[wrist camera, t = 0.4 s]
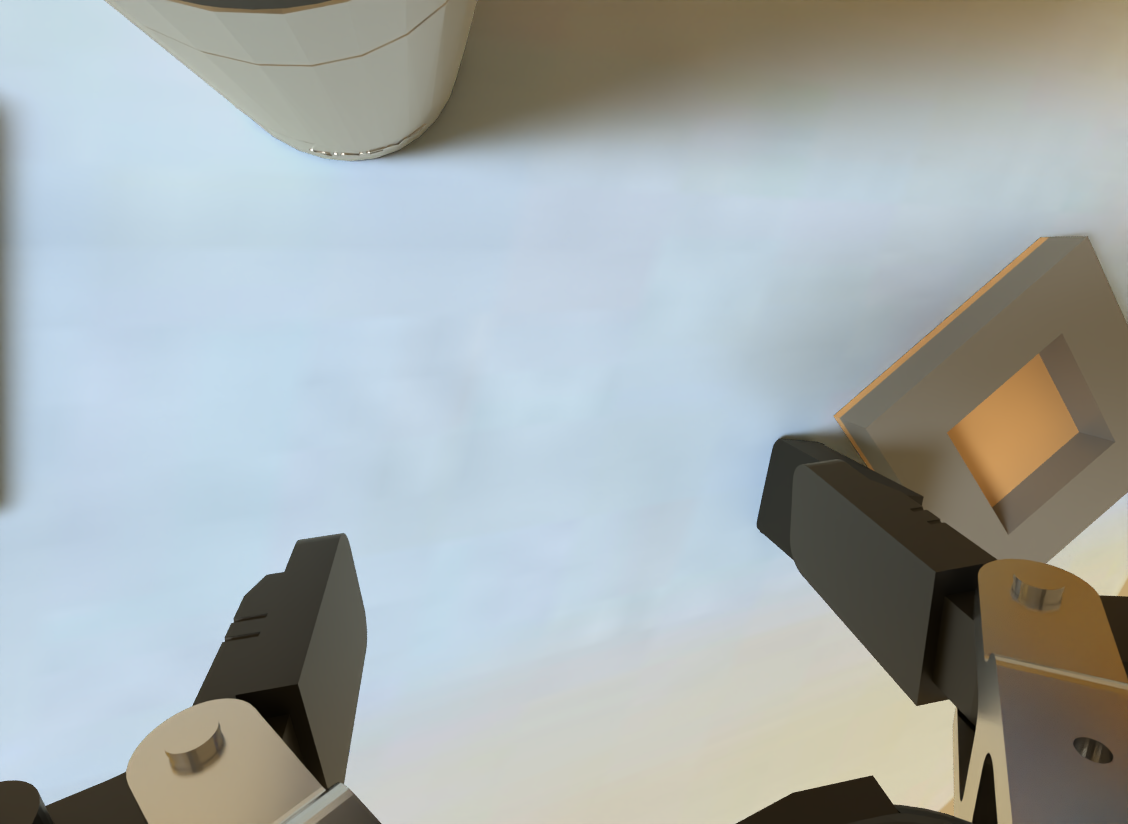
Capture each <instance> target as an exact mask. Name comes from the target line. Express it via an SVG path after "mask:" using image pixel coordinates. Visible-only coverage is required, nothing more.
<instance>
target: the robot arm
mask: <svg viewBox="0 0 1128 824" xmlns="http://www.w3.org/2000/svg"><path fill="white" fill-rule="evenodd" d="M104 1H106V2H107V3H108V4H109V5H111V6H112V7H113V8H114V9H116V10H117V11H118V12H119V13H121V14H122V15H123V16H124V17H125V18H127V19H128V20H129V21H130V22H132V23H133V24H134V25H135V26H137V27H138V28H139V29H140V30H142V31H143V32H144V33H145V34H146V35H148V36H149V37H150V38H151V39H153V40H154V41H155V42H156V43H158V44H159V45H160V46H161V47H163V48H164V49H165V50H166V51H167V52H169V53H170V54H171V55H172V56H174V57H175V58H176V59H177V60H179V61H180V62H181V63H182V64H184V65H185V66H186V67H187V68H188V69H190V70H191V71H192V72H193V73H195V74H196V75H197V76H198V77H200V78H201V79H202V80H203V81H205V82H206V83H207V84H208V85H209V86H211V87H212V88H213V89H214V90H216V91H217V92H218V93H219V94H221V95H222V96H223V97H224V98H226V99H227V100H228V101H229V102H230V103H232V104H233V105H234V106H235V107H236V108H238V109H239V110H240V111H242V112H243V113H244V114H246V115H247V116H248V117H250V118H251V119H252V120H253V121H255V122H256V123H257V124H258V125H259V126H261V127H262V128H263V129H264V130H266V131H267V132H268V133H269V134H271V135H272V136H273V137H275V138H277V139H278V140H280V141H282V142H284V143H286V144H288V145H289V146H291V147H293V148H295V149H297V150H299V151H302V152H305V153H308V154H312V155H315V156H318V157H321V158H324V159H334V160H344V161H356V160H365V159H374V158H378V157H381V156H383V155H386V154H389V153H392V152H395V151H398V150H400V149H401V148H403V147H404V146H406V145H408V144H409V143H411V142H412V141H414V140H415V139H417V138H419V137H420V136H421V135H422V134H423V133H424V132H425V131H426V130H427V129H428V128H429V127H430V126H431V125H432V124H433V122H434V121H435V120H436V119H437V118H438V116H439V115H440V113H441V111H442V110H443V108H444V106H445V105H446V103H447V101H448V100H449V98H450V95H451V92H452V89H453V86H454V83H455V80H456V78H457V75H458V71H459V67H460V63H461V60H462V57H463V53H464V50H465V46H466V42H467V39H468V35H469V31H470V27H471V23H472V19H473V15H474V11H475V7H476V4H477V0H104ZM790 546H791V552H792V556H793V559H794V562H795V564H796V566H797V568H798V570H799V572H800V573H801V574H802V576H803V577H804V578H805V579H806V580H807V581H808V583H809V584H810V585H811V586H812V587H813V588H814V589H815V591H816V592H817V593H818V594H819V595H820V596H821V597H822V599H823V600H824V601H825V602H826V603H827V604H828V605H829V606H830V608H831V609H832V610H833V611H834V612H835V613H836V614H837V616H838V617H839V618H840V619H841V620H842V621H843V622H844V624H845V625H846V626H847V627H848V628H849V629H850V630H851V632H852V633H853V634H854V635H855V636H856V637H857V638H858V640H859V641H860V642H861V643H862V644H863V645H864V646H865V648H866V649H867V650H868V651H869V652H870V653H871V654H872V656H873V657H874V658H875V659H876V660H877V661H878V662H879V664H880V665H881V666H882V667H883V668H884V669H885V670H886V672H887V673H888V674H889V675H890V676H891V677H892V678H893V680H894V681H895V682H896V683H897V684H898V685H899V686H900V688H901V689H902V690H903V691H904V692H905V693H906V694H907V696H908V697H909V698H910V699H911V700H912V701H913V702H914V703H915V705H916V706H919V705H924V704H928V703H933V702H938V701H943V700H948V699H949V700H950V701H951V702H952V703H953V704H954V705H955V706H956V708H955V714H954V720H953V773H954V816H951V815H948V814H945V813H941V812H936V811H932V810H928V809H924V808H917V807H910V806H904V805H893V804H892V802H891V801H890V799H889V798H888V796H887V795H886V794H885V792H884V791H883V789H882V788H881V787H880V785H879V784H878V782H877V781H876V779H875V778H874V777H873V775H872V776H868V777H863V778H859V779H854V780H849V781H845V782H840V783H836V784H831V785H827V786H822V787H817V788H813V789H808V790H804V791H799V792H795V793H792V794H790V795H788V796H786V797H784V798H782V799H781V800H779V801H777V802H775V803H773V804H771V805H770V806H768V807H766V808H764V809H762V810H760V811H759V812H757V813H755V814H753V815H751V816H749V817H747V818H746V819H744V820H742V821H740V822H738V823H736V824H1128V597H1122V596H1099V595H1098V593H1097V592H1096V591H1095V589H1094V588H1093V587H1091V586H1090V585H1089V584H1088V583H1087V582H1085V581H1084V580H1082V579H1081V578H1079V577H1077V576H1076V575H1074V574H1072V573H1070V572H1067V571H1065V570H1063V569H1060V568H1058V567H1055V566H1052V565H1048V564H1045V563H1041V562H1036V561H1031V560H1024V559H1001V560H997V559H996V558H995V557H993V556H992V555H990V554H989V553H988V552H986V551H985V550H983V549H982V548H981V547H979V546H978V545H976V544H975V543H973V542H972V541H971V540H969V539H968V538H966V537H965V536H964V535H962V534H961V533H959V532H958V531H957V530H955V529H954V528H952V527H951V526H949V525H948V524H947V523H945V522H943V523H941V521H940V518H938V517H937V516H935V515H934V514H933V513H931V512H930V511H928V510H923V506H921V505H920V504H918V503H917V502H916V501H914V500H913V499H911V498H910V497H909V496H907V495H906V494H904V493H903V492H901V491H899V490H896V489H893V488H891V487H888V486H886V485H883V484H881V483H878V482H876V481H871V480H869V479H868V478H867V477H865V476H864V475H863V474H861V473H860V472H858V471H857V470H856V469H854V468H853V467H852V466H850V465H849V464H848V463H846V462H845V461H843V460H841V459H835V460H829V461H822V462H816V463H809V464H802V465H799V466H798V467H797V468H796V469H795V472H794V475H793V488H792V509H791V530H790ZM366 647H367V625H366V616H365V610H364V605H363V601H362V596H361V592H360V587H359V583H358V579H357V574H356V570H355V565H354V561H353V557H352V552H351V548H350V544H349V541H348V538H347V536H346V535H345V534H344V533H341V534H335V535H328V536H321V537H315V538H308V539H302V540H298V541H297V542H296V544H295V547H294V549H293V552H292V554H291V557H290V559H289V562H288V564H287V567H286V569H285V572H282V573H275V574H269V575H266V576H265V577H264V578H263V579H262V580H261V581H260V582H259V583H258V584H257V585H255V586H254V587H253V588H252V589H251V590H250V591H249V592H248V593H247V594H246V595H245V596H244V598H243V600H242V602H241V604H240V606H239V608H238V610H237V613H236V615H235V617H234V623H231V625H230V627H229V629H228V632H227V634H226V636H225V642H222V644H221V646H220V649H219V651H218V653H217V655H216V657H215V659H214V661H213V663H212V665H211V668H210V670H209V672H208V674H207V676H206V678H205V680H204V682H203V684H202V687H201V689H200V691H199V693H198V695H197V697H196V699H195V701H194V704H193V706H192V707H190V708H187V709H185V710H183V711H181V712H179V713H177V714H175V715H174V716H172V717H170V718H169V719H167V720H166V721H164V722H163V723H162V724H160V725H159V726H158V727H156V728H155V729H154V730H153V731H152V732H151V733H150V734H148V735H147V736H146V737H145V739H144V740H143V741H142V742H141V743H140V744H139V745H138V747H137V748H136V750H135V751H134V753H133V754H132V756H131V758H130V760H129V763H128V766H127V770H126V772H125V773H123V774H121V775H118V776H116V777H114V778H112V779H110V780H107V781H105V782H103V783H100V784H98V785H95V786H93V787H90V788H88V789H86V790H83V791H81V792H78V793H76V794H74V795H71V796H69V797H66V798H64V799H61V800H59V801H57V802H54V803H52V804H49V805H47V806H45V805H44V803H43V801H42V799H41V797H40V795H39V792H38V790H37V789H36V788H35V787H34V786H33V785H31V784H29V783H27V782H23V781H3V782H0V824H381V823H380V822H379V821H378V819H377V818H376V817H375V816H374V815H373V814H372V813H371V812H370V811H369V810H368V808H367V807H366V806H365V805H364V804H363V803H362V802H361V801H360V800H359V798H358V797H357V796H356V795H355V794H354V793H353V792H352V791H351V790H350V789H349V788H348V787H347V786H345V785H344V780H345V774H346V768H347V762H348V756H349V750H350V744H351V738H352V732H353V726H354V720H355V714H356V708H357V702H358V696H359V690H360V684H361V678H362V672H363V666H364V660H365V654H366Z"/></svg>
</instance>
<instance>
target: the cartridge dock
mask: <svg viewBox="0 0 1128 824" xmlns="http://www.w3.org/2000/svg"><path fill="white" fill-rule="evenodd" d="M834 417H835V419H836V420H837V422H838V423H839V425H840V426H841V428H842V429H843V431H844V432H845V434H846V435H847V437H848V438H849V440H850V441H851V443H852V444H853V446H854V447H855V449H856V450H857V452H858V453H859V455H860V456H861V458H862V459H863V461H864V462H865V464H866V465H867V467H868V468H869V469H871V470H873V471H875V472H877V473H879V474H881V475H883V476H885V477H887V478H889V479H890V480H892V481H894V482H896V483H898V484H900V485H902V486H904V487H906V488H908V489H910V490H912V491H914V492H916V493H918V494H920V495H922V496H924V498H923V503H922V506H923V510H928V511H930V512H931V513H933V514H934V515H935V516H937V517H938V518H940V521H941V523H943V522H945V523H947V524H948V525H949V526H951V527H952V528H954V529H955V530H957V531H958V532H959V533H961V534H962V535H964V536H965V537H966V538H968V539H969V540H971V541H972V542H973V543H975V544H976V545H978V546H979V547H981V548H982V549H983V550H985V551H986V552H988V553H989V554H990V555H992V556H993V557H995V558H996V559H997V560H1001V559H1024V560H1031V561H1036V562H1041V563H1045V564H1046V563H1047V562H1048V561H1049V560H1050V559H1051V558H1053V557H1054V556H1055V555H1056V554H1057V553H1058V552H1060V551H1061V550H1062V549H1063V548H1064V547H1065V546H1066V545H1068V544H1069V543H1070V542H1071V541H1072V540H1073V539H1074V538H1076V537H1077V536H1078V535H1079V534H1080V533H1081V532H1082V531H1084V530H1085V529H1086V528H1087V527H1088V526H1089V525H1090V524H1092V523H1093V522H1094V521H1095V520H1096V519H1097V518H1099V517H1100V516H1101V515H1102V514H1103V513H1104V512H1105V511H1107V510H1108V509H1109V508H1110V507H1111V506H1112V505H1113V504H1115V503H1116V502H1117V501H1118V500H1119V499H1120V498H1121V497H1123V496H1124V495H1125V494H1126V493H1127V492H1128V325H1127V323H1126V321H1125V319H1124V316H1123V314H1122V312H1121V310H1120V307H1119V305H1118V303H1117V301H1116V299H1115V296H1114V294H1113V292H1112V290H1111V287H1110V285H1109V283H1108V281H1107V278H1106V276H1105V274H1104V272H1103V269H1102V267H1101V265H1100V263H1099V260H1098V258H1097V256H1096V254H1095V252H1094V249H1093V247H1092V245H1091V243H1090V240H1089V238H1088V237H1040V238H1039V239H1038V240H1037V241H1036V242H1034V243H1033V244H1032V245H1031V246H1030V247H1029V248H1028V249H1026V250H1025V251H1024V252H1023V253H1022V254H1021V255H1019V256H1018V257H1017V258H1016V259H1015V260H1014V261H1012V262H1011V263H1010V264H1009V265H1008V266H1007V267H1005V268H1004V269H1003V270H1002V271H1001V272H1000V273H999V274H997V275H996V276H995V277H994V278H993V279H992V280H990V281H989V282H988V283H987V284H986V285H985V286H983V287H982V288H981V289H980V290H979V291H978V292H976V293H975V294H974V295H973V296H972V297H971V298H970V299H968V300H967V301H966V302H965V303H964V304H963V305H961V306H960V307H959V308H958V309H957V310H956V311H954V312H953V313H952V314H951V315H950V316H949V317H947V318H946V319H945V320H944V321H943V322H942V323H941V324H939V325H938V326H937V327H936V328H935V329H934V330H932V331H931V332H930V333H929V334H928V335H927V336H925V337H924V338H923V339H922V340H921V341H920V342H918V343H917V344H916V345H915V346H914V347H913V348H912V349H910V350H909V351H908V352H907V353H906V354H905V355H903V356H902V357H901V358H900V359H899V360H898V361H896V362H895V363H894V364H893V365H892V366H891V367H889V368H888V369H887V370H886V371H885V372H884V373H883V374H881V375H880V376H879V377H878V378H877V379H876V380H874V381H873V382H872V383H871V384H870V385H869V386H867V387H866V388H865V389H864V390H863V391H862V392H860V393H859V394H858V395H857V396H856V397H855V398H854V399H852V400H851V401H850V402H849V403H848V404H847V405H845V406H844V407H843V408H842V409H841V410H840V411H838V412H837V413H836V414H835V415H834Z"/></svg>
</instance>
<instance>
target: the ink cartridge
mask: <svg viewBox="0 0 1128 824" xmlns="http://www.w3.org/2000/svg"><path fill="white" fill-rule="evenodd" d="M835 459H841V460H843V461H845V462H846V463H848V464H849V465H850V466H852V467H853V468H854V469H856V470H857V471H858V472H860V473H861V474H863V475H864V476H865V477H867V478H868V479H869V480H871V481H876V482H878V483H881V484H883V485H886V486H888V487H891V488H893V489H896V490H899V491H901V492H903V493H904V494H906V495H907V496H909V497H910V498H911V499H913V500H914V501H916V502H917V503H918V504H920V505H921V506H922V503H923V498H924V496H922V495H920V494H918V493H916V492H914V491H912V490H910V489H908V488H906V487H904V486H902V485H900V484H898V483H896V482H894V481H892V480H890V479H889V478H887V477H885V476H883V475H881V474H879V473H877V472H875V471H873V470H871V469H869V468H867V467H865V466H863V465H861V464H859V463H857V462H855V461H853V460H852V459H850V458H848V457H846V456H844V455H842V454H840V453H838V452H836V451H834V450H832V449H830V448H828V447H826V446H824V444H822V443H818V442H810V441H799V440H788V439H778V440H777V441H776V442H775V444H774V446H773V449H772V454H771V458H770V463H769V467H768V472H767V477H766V481H765V486H764V490H763V495H762V500H761V505H760V509H759V514H758V519H757V528H758V529H759V530H760V532H761V533H763V534H764V535H765V536H767V537H768V538H769V539H770V540H771V541H772V542H773V543H775V544H776V545H777V546H778V547H779V548H780V549H781V550H783V551H784V552H785V553H786V554H787V555H788V556H789V557H791V558H792V559H793V556H792V552H791V546H790V530H791V509H792V488H793V475H794V472H795V469H796V468H797V467H798V466H799V465H802V464H809V463H816V462H822V461H829V460H835ZM793 560H794V559H793Z"/></svg>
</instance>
